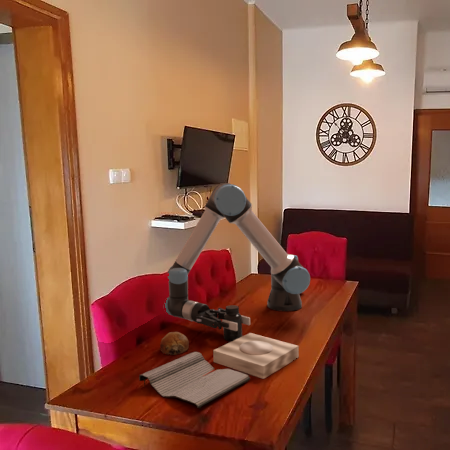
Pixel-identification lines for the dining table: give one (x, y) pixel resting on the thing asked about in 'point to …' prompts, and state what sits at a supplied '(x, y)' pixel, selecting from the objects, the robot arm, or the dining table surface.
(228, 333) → the supplement bottle
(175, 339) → the bread roll
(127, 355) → the dining table surface
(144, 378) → the mat
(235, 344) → the stand
